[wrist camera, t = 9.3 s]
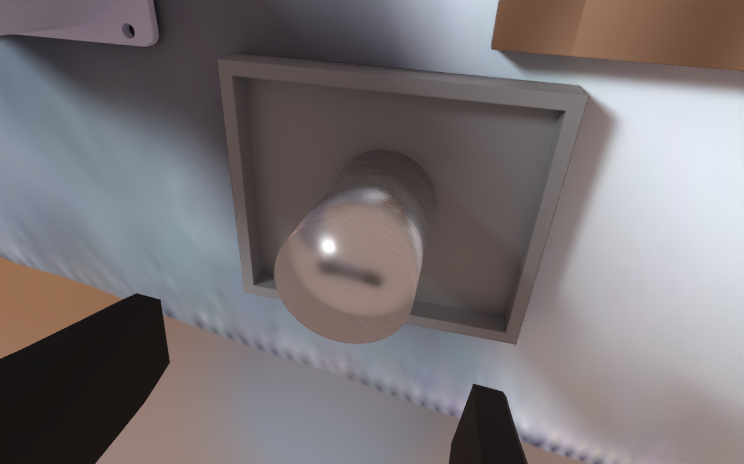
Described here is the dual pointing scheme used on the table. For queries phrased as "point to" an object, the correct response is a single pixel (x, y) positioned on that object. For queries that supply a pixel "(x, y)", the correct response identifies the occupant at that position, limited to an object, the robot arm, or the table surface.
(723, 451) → the table surface
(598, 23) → the socket block
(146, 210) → the table surface
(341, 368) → the table surface
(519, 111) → the tray
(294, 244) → the steel pin
